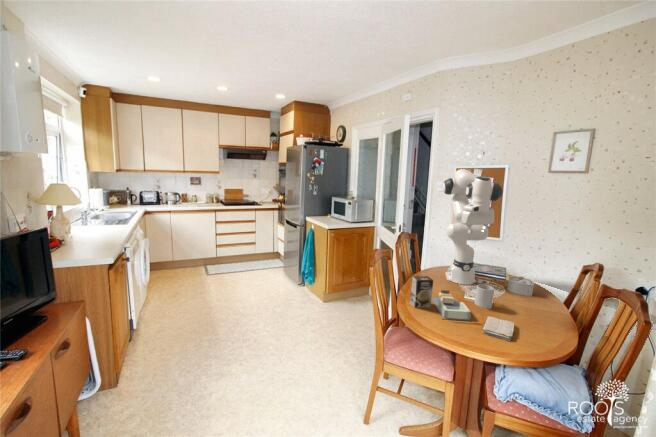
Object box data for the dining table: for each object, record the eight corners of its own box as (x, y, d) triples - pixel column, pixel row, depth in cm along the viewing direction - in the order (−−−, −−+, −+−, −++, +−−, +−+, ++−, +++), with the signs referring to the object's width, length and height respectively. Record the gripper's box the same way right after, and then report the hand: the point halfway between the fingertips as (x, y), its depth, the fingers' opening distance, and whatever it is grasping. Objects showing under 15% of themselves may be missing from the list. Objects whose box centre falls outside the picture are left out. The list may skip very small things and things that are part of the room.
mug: (490, 311, 164) (492, 291, 163) (472, 306, 169) (475, 287, 167) (493, 303, 174) (496, 284, 172) (477, 299, 179) (479, 281, 177)
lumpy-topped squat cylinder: (532, 297, 185) (534, 283, 184) (507, 292, 192) (509, 278, 190) (531, 291, 194) (533, 278, 193) (507, 286, 200) (509, 273, 199)
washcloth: (481, 334, 142) (482, 328, 141) (486, 319, 156) (487, 313, 156) (511, 343, 135) (512, 337, 135) (513, 326, 150) (514, 320, 150)
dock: (430, 298, 177) (431, 290, 176) (455, 300, 176) (456, 292, 175) (442, 319, 153) (443, 310, 152) (471, 321, 152) (472, 312, 151)
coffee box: (414, 309, 163) (417, 280, 160) (409, 304, 169) (412, 275, 166) (430, 309, 164) (433, 280, 161) (425, 303, 170) (428, 275, 168)
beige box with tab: (438, 298, 175) (439, 289, 174) (449, 299, 174) (450, 290, 173) (441, 304, 168) (443, 294, 167) (453, 305, 167) (454, 295, 167)
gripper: (489, 206, 174) (486, 230, 176) (460, 206, 166) (457, 232, 168) (499, 207, 168) (495, 233, 170) (470, 208, 160) (466, 234, 163)
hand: (476, 232), depth 169 cm, fingers open, 8 cm apart
